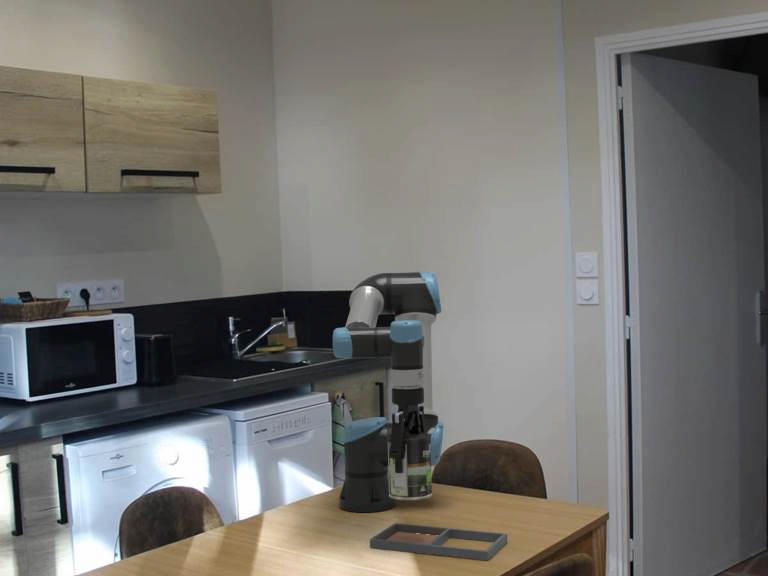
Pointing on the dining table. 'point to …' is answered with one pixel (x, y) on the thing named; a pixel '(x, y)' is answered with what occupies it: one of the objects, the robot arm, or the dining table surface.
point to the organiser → (436, 540)
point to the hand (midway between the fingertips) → (409, 481)
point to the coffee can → (413, 469)
